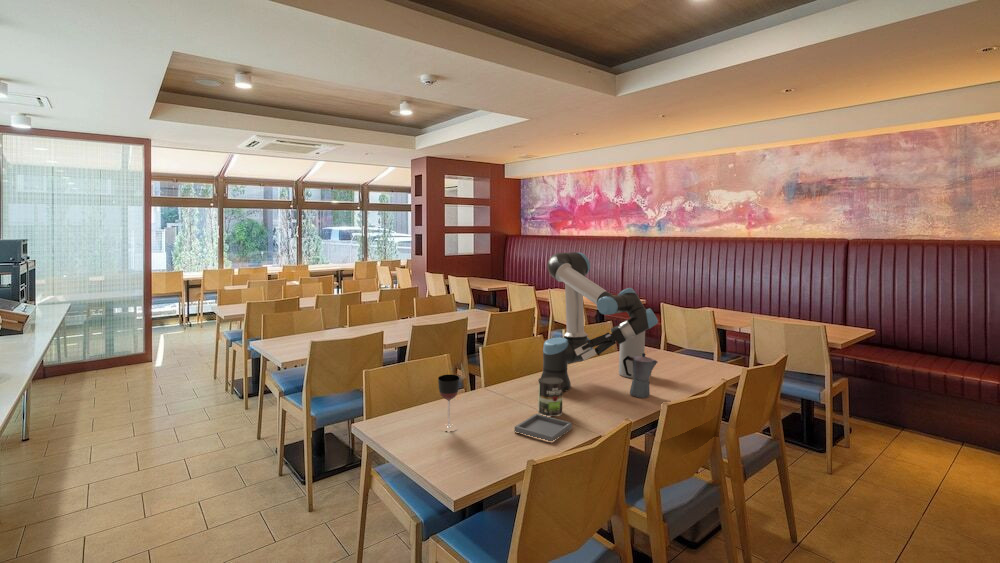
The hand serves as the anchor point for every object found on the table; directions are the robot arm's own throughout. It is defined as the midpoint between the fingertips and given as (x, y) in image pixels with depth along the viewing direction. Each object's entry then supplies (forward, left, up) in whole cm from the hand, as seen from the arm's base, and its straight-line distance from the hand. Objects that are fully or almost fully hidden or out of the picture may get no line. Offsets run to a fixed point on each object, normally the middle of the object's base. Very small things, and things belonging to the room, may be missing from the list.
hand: (579, 355), depth 222 cm
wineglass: (-28, -55, -21) cm, 65 cm away
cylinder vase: (+5, +53, -21) cm, 57 cm away
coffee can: (-4, -18, -21) cm, 28 cm away
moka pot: (+19, +25, -21) cm, 38 cm away
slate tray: (+3, -36, -21) cm, 42 cm away
